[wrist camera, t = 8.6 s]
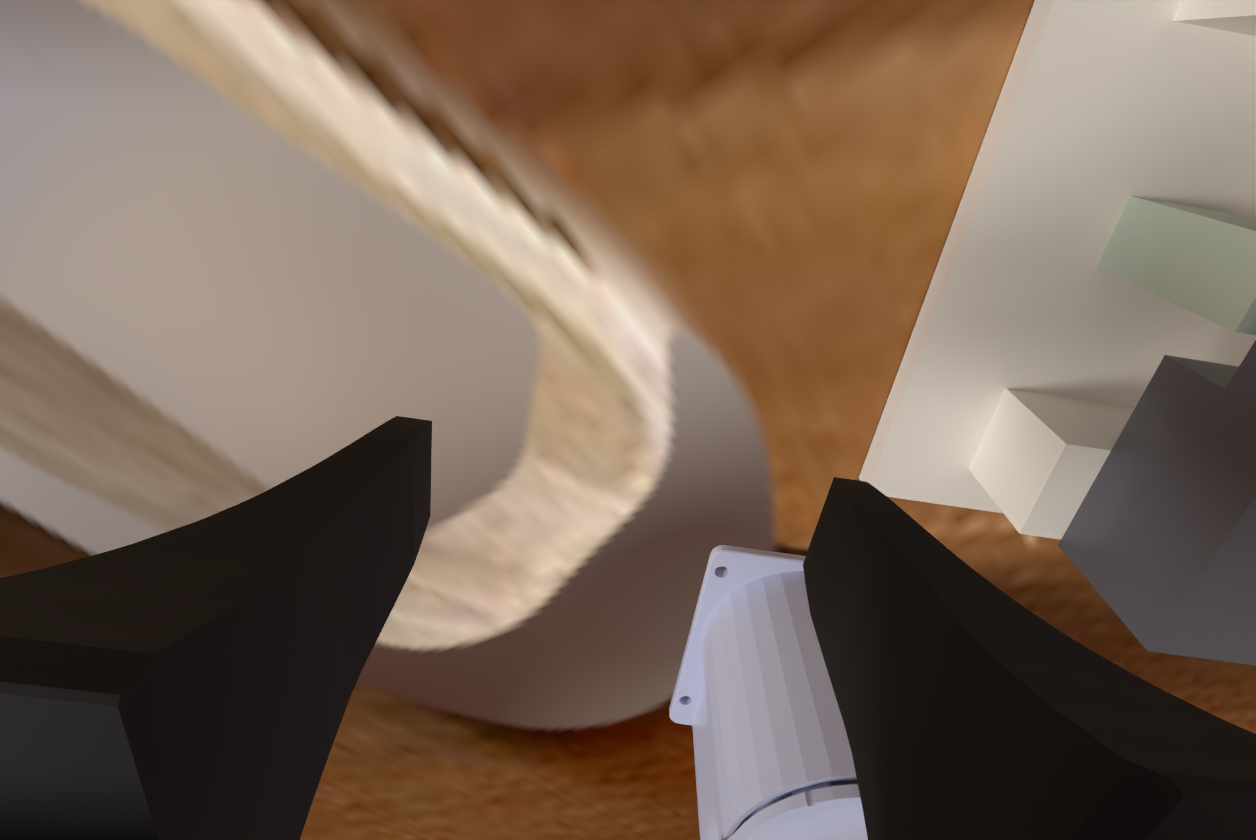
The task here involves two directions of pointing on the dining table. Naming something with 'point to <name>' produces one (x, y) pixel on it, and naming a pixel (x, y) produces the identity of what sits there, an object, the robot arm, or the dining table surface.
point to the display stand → (1081, 257)
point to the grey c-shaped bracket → (1179, 514)
